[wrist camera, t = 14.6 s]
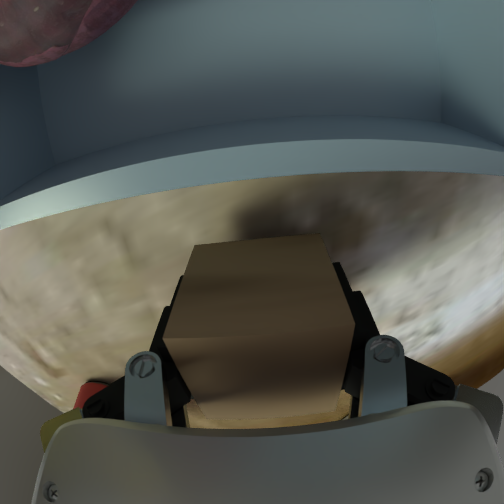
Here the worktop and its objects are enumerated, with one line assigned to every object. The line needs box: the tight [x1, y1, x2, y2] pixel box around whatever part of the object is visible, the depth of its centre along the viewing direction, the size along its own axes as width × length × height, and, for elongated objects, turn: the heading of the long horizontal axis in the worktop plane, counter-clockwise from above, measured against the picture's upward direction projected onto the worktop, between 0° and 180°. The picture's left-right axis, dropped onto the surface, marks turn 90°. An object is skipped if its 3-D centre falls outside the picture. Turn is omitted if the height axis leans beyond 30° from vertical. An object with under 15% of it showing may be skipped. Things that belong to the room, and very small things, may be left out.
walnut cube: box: [163, 233, 355, 419], centre depth 10 cm, size 5×5×5 cm
